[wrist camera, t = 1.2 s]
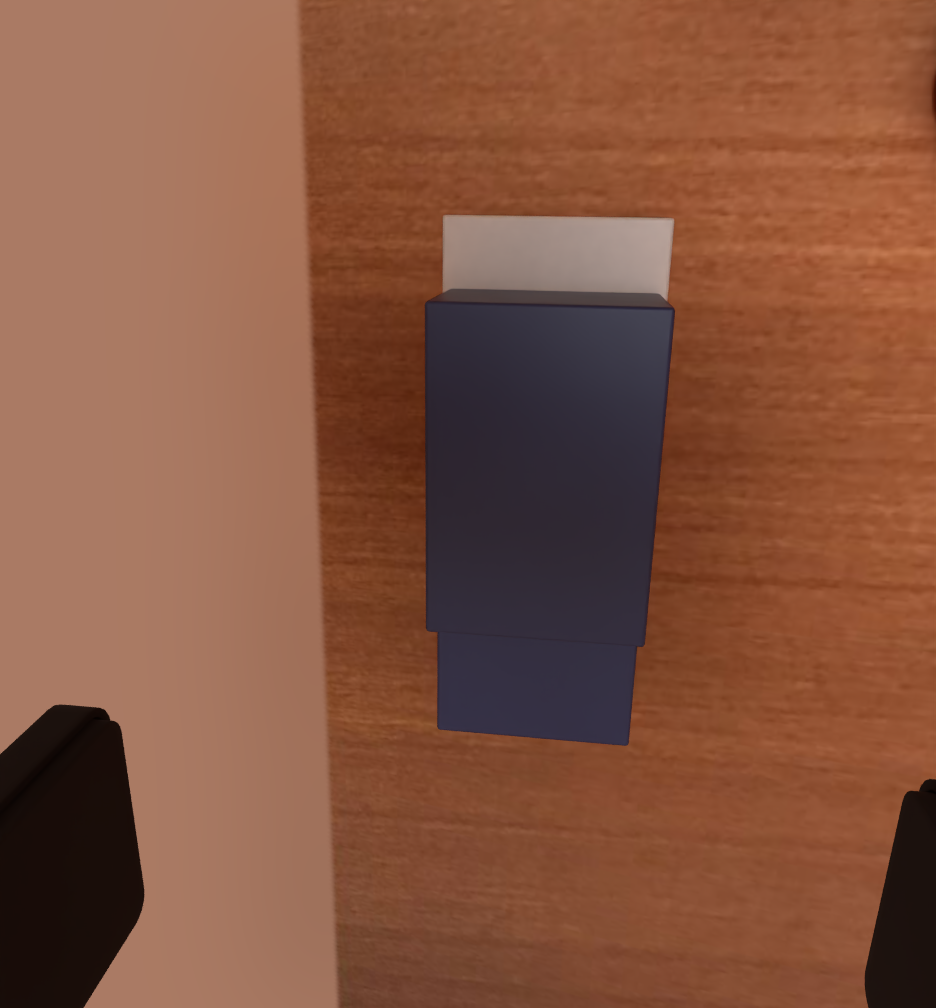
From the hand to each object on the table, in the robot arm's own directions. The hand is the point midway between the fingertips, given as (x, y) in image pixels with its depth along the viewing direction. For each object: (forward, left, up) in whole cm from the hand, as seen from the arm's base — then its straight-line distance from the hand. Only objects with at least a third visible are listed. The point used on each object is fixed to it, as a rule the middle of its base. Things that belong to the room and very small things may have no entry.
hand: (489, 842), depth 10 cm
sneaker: (+1, -1, -18) cm, 18 cm away
